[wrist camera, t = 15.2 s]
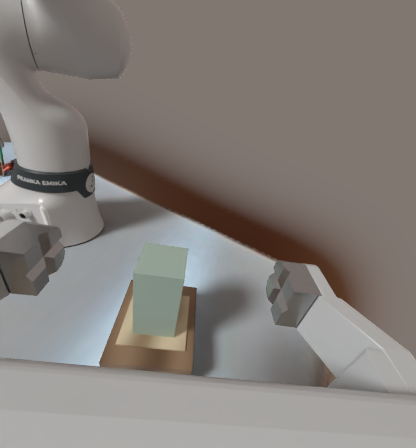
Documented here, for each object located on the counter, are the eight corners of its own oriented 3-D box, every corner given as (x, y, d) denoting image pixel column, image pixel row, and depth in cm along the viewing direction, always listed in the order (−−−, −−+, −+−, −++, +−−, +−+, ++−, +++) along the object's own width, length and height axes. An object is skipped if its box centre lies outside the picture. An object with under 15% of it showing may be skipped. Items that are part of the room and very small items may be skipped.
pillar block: (132, 333, 27) (133, 272, 22) (142, 299, 31) (145, 242, 26) (173, 337, 28) (184, 279, 22) (178, 303, 32) (187, 248, 27)
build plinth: (101, 380, 26) (99, 361, 24) (131, 296, 36) (131, 278, 34) (187, 387, 27) (192, 369, 25) (192, 304, 37) (196, 286, 35)
